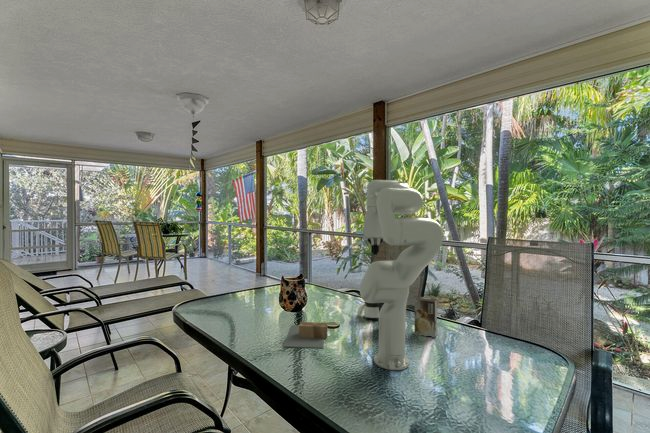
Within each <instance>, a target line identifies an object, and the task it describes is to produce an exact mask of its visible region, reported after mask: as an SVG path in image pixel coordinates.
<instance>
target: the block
mask: <svg viewBox="0 0 650 433" xmlns="http://www.w3.org/2000/svg"><path fill="white" fill-rule="evenodd" d="M299 337H302V338H324V339H328V322H320V321H319V322H316V321H315V322H314V321H313V322H312V321H300V323H299Z"/></svg>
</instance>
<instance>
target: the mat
mask: <svg viewBox="0 0 650 433" xmlns="http://www.w3.org/2000/svg"><path fill="white" fill-rule="evenodd" d="M299 325H300V324H299ZM299 325H295V324H292V325H291V327H290V329H289V332H288V335H287V337H286V339H285V342H284V343H283V346H282V347H283V348H294V349H295V348H296V349H297V348H298V349H299V348H301V349H324V344H325V338H302V337H299Z"/></svg>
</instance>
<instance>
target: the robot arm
mask: <svg viewBox="0 0 650 433" xmlns="http://www.w3.org/2000/svg"><path fill="white" fill-rule="evenodd" d="M409 186H410V185H409V184H408V183H407V182H406V181H402V180H396V179H373V180H371V181H370V182H369V183H367V185H366V214H364V217H363V223H362V225H363V226H362V241H365V242H368V243H369V244H370V246H371V248H370V249H371V250H370V252H371V253H372V255H376V256H377V255H378V253H379V251H380V245H381V244H382V243H383V242H385V243H386V244H388V245H390V246H408V247H406V248H405V249H404V250H402V251H401V252H400V253H399V255H398V257H396V259H395V260H394V259H393V260H392V259H391V260H376V261H373V262H371V263H370V264H369V265H368V267H367V269H366V271H365V272H364V275H363V278H362V279H361V281H360V285H359V295H360V297H361V299H362V301H364V303H365V302H367V303H384V305H383V306H382V308H381V310H380V313H379V319H378V322H379V325H378V329H379V330H378V353H377V354H375V355H374V357H373V362H374V364H375V365H376V366H378V367H380V368H382V369H385V370H390V371H401V370H405V369H407V368H408V367H409V366H410V359H409V358H408V357H407V356H406V327H407V326H406V324H407V323H406V322H407V304H408V300H409V294H410V286H412V285H413V283H414V282H415V281H416V280H417V278H418V277H419V276H420V274H421V273H422V272H423V270H424V269H425V268H426V267H427V266H428V265H429V264H431V262H433V260H434V259H435V258H436V257H437V255H438V253H439V252H440V249H441V247H442V243H443V239H444V238H443V234H444V233H443V229H442V226H441V224H440V223H439V222H438V221H436V220H435V219H432V218H428V217H404V216H403V217H399V216H396V215H412V214H416V213H417V212H419V211H420V210H421V209H422V207H423V205H424V198H423V196H422V194H421V193H420V192H419V191H418V190H416V189H415V188H411V187H409ZM375 239H376V242H375V241H374V240H375Z"/></svg>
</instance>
